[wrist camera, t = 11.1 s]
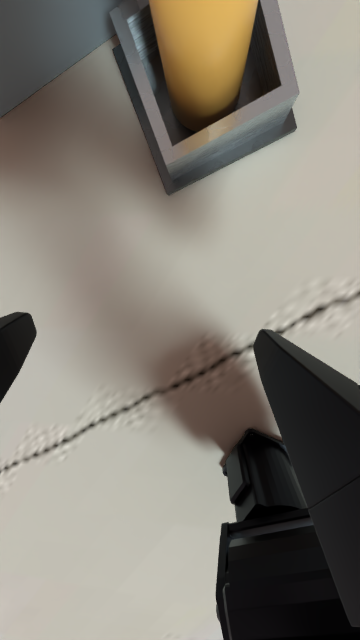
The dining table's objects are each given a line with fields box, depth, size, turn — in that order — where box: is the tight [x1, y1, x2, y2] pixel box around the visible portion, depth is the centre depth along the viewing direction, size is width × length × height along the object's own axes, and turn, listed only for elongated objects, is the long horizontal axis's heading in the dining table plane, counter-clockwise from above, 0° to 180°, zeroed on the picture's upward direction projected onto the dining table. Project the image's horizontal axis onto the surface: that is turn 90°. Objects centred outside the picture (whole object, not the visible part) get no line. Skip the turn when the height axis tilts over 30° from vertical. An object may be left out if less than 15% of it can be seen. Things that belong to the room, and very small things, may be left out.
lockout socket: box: [109, 0, 299, 195], centre depth 13 cm, size 10×10×3 cm
